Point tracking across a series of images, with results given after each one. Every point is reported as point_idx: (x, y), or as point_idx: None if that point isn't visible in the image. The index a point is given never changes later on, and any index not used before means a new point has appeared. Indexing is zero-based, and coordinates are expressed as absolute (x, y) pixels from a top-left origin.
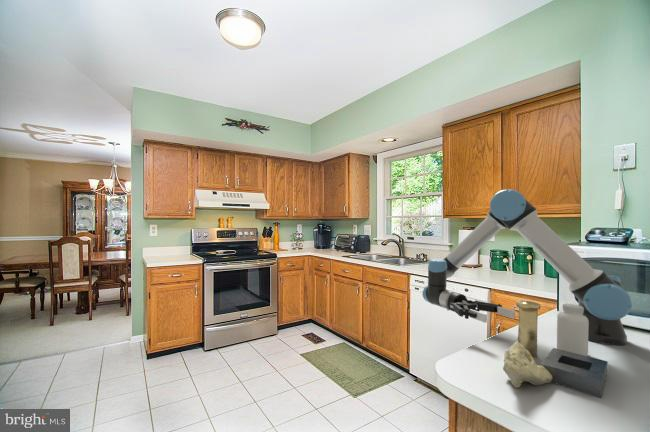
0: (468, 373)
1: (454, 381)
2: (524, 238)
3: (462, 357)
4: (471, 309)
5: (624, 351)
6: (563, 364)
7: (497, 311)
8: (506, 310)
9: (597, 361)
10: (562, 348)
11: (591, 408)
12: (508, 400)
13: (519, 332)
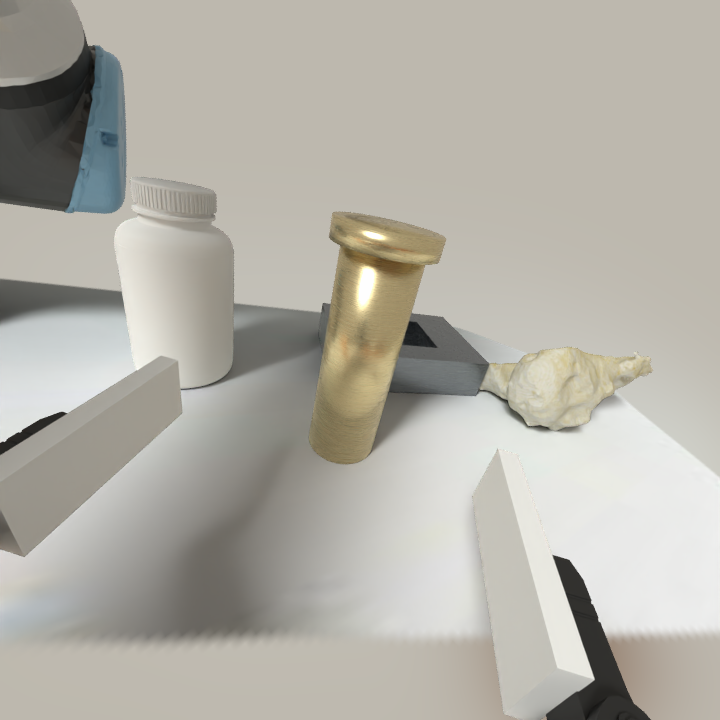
0: (679, 504)
1: None
2: None
3: (661, 587)
4: (563, 649)
5: (60, 301)
6: (437, 342)
7: (15, 536)
8: (124, 411)
9: None
10: (224, 364)
11: (482, 351)
12: (619, 415)
13: (388, 383)
